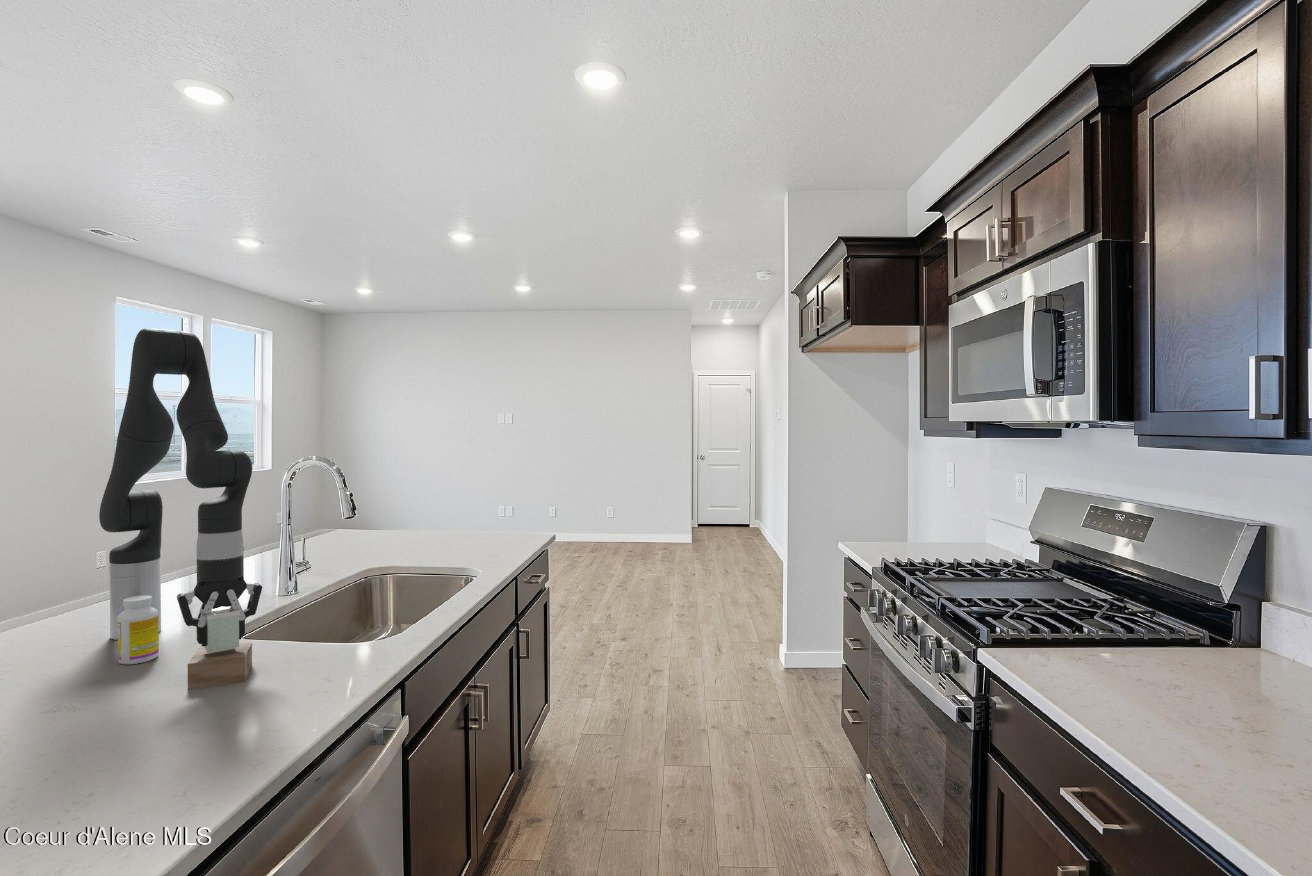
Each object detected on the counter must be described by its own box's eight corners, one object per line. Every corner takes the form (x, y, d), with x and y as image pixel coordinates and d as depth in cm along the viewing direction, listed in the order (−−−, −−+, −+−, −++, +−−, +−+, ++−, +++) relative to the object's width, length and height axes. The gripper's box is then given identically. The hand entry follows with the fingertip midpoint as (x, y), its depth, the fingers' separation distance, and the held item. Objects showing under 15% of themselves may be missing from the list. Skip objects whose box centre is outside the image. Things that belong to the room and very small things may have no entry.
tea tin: (202, 646, 125) (202, 609, 125) (234, 640, 129) (234, 604, 129) (207, 653, 121) (207, 615, 121) (239, 646, 125) (239, 610, 125)
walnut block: (198, 673, 127) (198, 648, 127) (252, 666, 131) (252, 642, 131) (187, 690, 119) (187, 663, 119) (245, 682, 123) (245, 656, 123)
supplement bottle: (167, 654, 137) (166, 594, 137) (139, 666, 130) (138, 602, 130) (138, 653, 138) (137, 593, 137) (108, 664, 131) (108, 601, 131)
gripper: (258, 546, 132) (259, 629, 133) (171, 556, 123) (172, 645, 123) (267, 552, 127) (268, 638, 127) (177, 562, 117) (177, 656, 117)
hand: (221, 641), depth 125 cm, fingers closed on tea tin, 5 cm apart
